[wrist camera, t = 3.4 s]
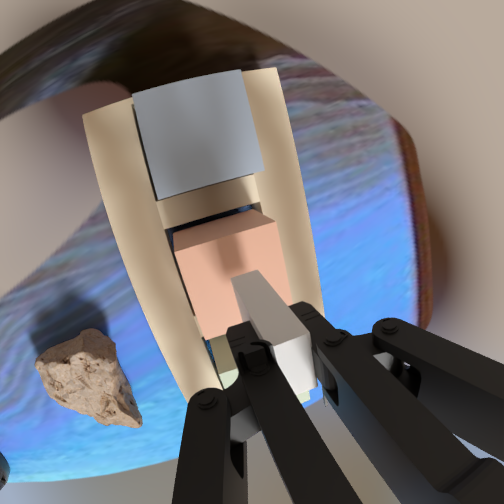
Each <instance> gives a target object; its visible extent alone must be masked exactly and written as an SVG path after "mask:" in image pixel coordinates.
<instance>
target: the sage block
mask: <svg viewBox="0 0 504 504" xmlns="http://www.w3.org/2000/svg"><path fill="white" fill-rule="evenodd" d="M209 341H210V345H211V349H212V352H213V356H214V360H215V363H216V367H217V370H218V374H219V376H220V379H221V381H222V383H223V386H224V388H225V389H226V388H227V387H229V386H230V385H232V384H233V383H234V381H235V380H236V379H237V377H238V373H239V372H238V369H237V366H236V363H235V361H234V358H233V355H232V352H231V349H230V346H229V343H228V341H227V338H226V334H224V335H221V336H218V337H214V338H211V339H209ZM296 396H297V398H298V399H299V401H300V403H303V402H306V401H308V400H310V395H309V390H308V391H306V392H303V393H301V394H298V395H296Z"/></svg>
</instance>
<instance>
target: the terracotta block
mask: <svg viewBox="0 0 504 504" xmlns="http://www.w3.org/2000/svg"><path fill="white" fill-rule="evenodd" d="M173 241H174V253H175V256H176V259H177V262H178V265H179V268H180V271H181V274H182V277H183V280H184V283H185V286H186V289H187V292H188V295H189V297H190V300H191V303H192V306H193V309H194V311H195V314H196V317H197V320H198V322H199V325H200V328H201V330H202V333H203V336H204V338H205V340H208V339H211V338H214V337H218V336H221V335H224V334H226V332H227V329H228V327H231V326H234V325H237V324H240V323H243V321H242V317H241V314H240V310H239V307H238V304H237V300H236V297H235V293H234V290H233V286H232V283H231V279H230V278H232V277H235V276H238V275H242V274H245V273H248V272H251V271H254V270H257V269H258V271H259V272H260V273H261V274H262V275H263V277H264V278H265V279H266V280H267V281H268V283H269V284H270V285H271V286H272V288H273V289H274V290H275V291H276V292H277V294H278V295H279V296H280V297H281V298H282V300H283V301H284V302H285V303H286V304H287V306H290V305H292V304H293V302H292V296H291V291H290V286H289V281H288V276H287V271H286V266H285V261H284V256H283V252H282V247H281V242H280V237H279V232H278V228H277V223H276V221H274V220H273V219H271V218H269V217H267V216H265V215H263V214H261V213H260V212H258V211H256V210H254V209H252V210H248V211H244V212H241V213H237V214H234V215H231V216H227V217H224V218H220V219H217V220H213V221H210V222H207V223H203V224H200V225H197V226H193V227H190V228H187V229H184V230H180V231H177V232H174V233H173Z"/></svg>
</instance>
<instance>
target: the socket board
mask: <svg viewBox="0 0 504 504" xmlns="http://www.w3.org/2000/svg"><path fill="white" fill-rule="evenodd" d="M241 73H242V77H243V81H244V85H245V89H246V93H247V97H248V101H249V105H250V109H251V113H252V117H253V122H254V126H255V130H256V134H257V138H258V143H259V147H260V151H261V155H262V160H263V164H264V169H265V171H261V172H257V173H253V174H249V175H245V176H241V177H237V178H233V179H229V180H226V181H222V182H218V183H215V184H211V185H207V186H204V187H200V188H197V189H193V190H190V191H186V192H183V193H180V194H176V195H173V196H170V197H166V198H163V199H160V200H158V197H157V194H156V190H155V187H154V183H153V179H152V176H151V172H150V168H149V164H148V161H147V157H146V153H145V149H144V145H143V141H142V137H141V133H140V128H139V124H138V120H137V116H136V111H135V106H134V102H133V97H131V98H128V99H125V100H122V101H119V102H116V103H113V104H110V105H108V106H105V107H102V108H99V109H96V110H94V111H91V112H89V113H86V114H84V115H82V117H83V122H84V127H85V132H86V136H87V140H88V145H89V149H90V153H91V157H92V161H93V165H94V169H95V173H96V176H97V180H98V184H99V187H100V191H101V195H102V198H103V201H104V205H105V208H106V211H107V214H108V218H109V221H110V224H111V227H112V230H113V233H114V236H115V239H116V242H117V245H118V248H119V250H120V253H121V256H122V259H123V261H124V264H125V267H126V270H127V272H128V275H129V277H130V280H131V283H132V285H133V288H134V290H135V293H136V295H137V298H138V300H139V302H140V305H141V307H142V310H143V312H144V314H145V317H146V319H147V321H148V323H149V326H150V328H151V330H152V332H153V335H154V337H155V339H156V341H157V343H158V345H159V348H160V350H161V352H162V354H163V356H164V358H165V360H166V362H167V364H168V366H169V368H170V370H171V372H172V374H173V376H174V378H175V380H176V382H177V384H178V386H179V388H180V390H181V392H182V393H183V395H184V397H185V399H186V401H187V403H188V402H189V400H190V398H191V397H192V396H193V395H194V394H195V393H196V392H198V391H200V390H202V389H205V388H218V389H221V390H224V389H225V388H224V386H223V383H222V381H221V379H220V376H219V374H218V372H217V369H216V367H215V364H214V362H213V359H212V357H211V354H210V351H209V349H208V346H207V344H206V341H205V339H204V336H203V333H202V330H201V328H200V325H199V322H198V320H197V317H196V314H195V311H194V309H193V306H192V303H191V300H190V298H189V295H188V292H187V289H186V286H185V283H184V280H183V277H182V274H181V272H180V269H179V265H178V262H177V259H176V256H175V253H174V250H173V247H172V244H171V241H170V238H169V234H168V231H167V229H168V228H171V227H174V226H178V225H181V224H184V223H187V222H191V221H194V220H197V219H201V218H204V217H207V216H211V215H214V214H218V213H221V212H224V211H228V210H231V209H235V208H238V207H242V206H246V205H249V204H251V206H252V209H254V210H256V211H258V212H260V213H261V214H263V215H265V216H267V217H269V218H271V219H273V220H274V221H276V223H277V228H278V232H279V237H280V242H281V247H282V252H283V256H284V261H285V266H286V271H287V276H288V281H289V286H290V291H291V296H292V302H293V304H295V303H298V302H301V301H304V302H306V303H309V304H311V305H312V306H313V307H314V308H315V309H316V310H317V311H318V312H319V313H320V314H321V315H322V316H323V317H324V318H325V315H324V308H323V300H322V293H321V286H320V279H319V273H318V266H317V260H316V254H315V248H314V242H313V236H312V230H311V224H310V219H309V213H308V208H307V202H306V197H305V192H304V187H303V182H302V177H301V172H300V167H299V162H298V157H297V153H296V148H295V144H294V139H293V135H292V130H291V126H290V121H289V117H288V113H287V109H286V105H285V101H284V96H283V92H282V88H281V85H280V81H279V77H278V73H277V69H276V68H267V69H259V70H251V71H244V72H241Z"/></svg>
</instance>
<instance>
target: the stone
mask: <svg viewBox="0 0 504 504" xmlns="http://www.w3.org/2000/svg"><path fill="white" fill-rule="evenodd" d="M116 352H117V351H116V344H115V343H114V342H113V341H112V340H111V339H110V338H109V337H108V336H104V335H103V334H102V332H100V331H99V330H97V329H93V328H90V329H86V330H82V331H81V332H80V335H78V336H76V337H75V338H74V339H70V340H68V341H65V342H62V343H60V344H58V345H55V346H53V347H50V348H49V349H47V350H46V351H45V352H44V353H42V354H41V355H40V356H39V357H37V358H36V361H35V367H36V369H37V370H38V372H39V374H40V376H41V379H42V382H43V385H44V387H45V389H46V391H47V393H48V394H49V396H50V398H52V399H54V400H56V402H57V403H58V404H59V405H61V406H63V407H66V408H68V409H73V410H76V411H77V412H78V413H80V414H87V415H89V416H90V417H94V419H95V420H96V421H97V422H98V423H101V424H103V425H106V426H108V425H110V424H114V425H122V426H128V427H131V428H139V427H141V426H142V424H143V423H142V416H141V414H140V412H139V410H138V407H137V404H136V401H135V399H134V397H133V395H132V391H131V387H130V385H129V383H128V381H127V379H126V377H125V375H124V373H123V372H122V369H121V367H120V365H119V362H118V360H117V357H116Z"/></svg>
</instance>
